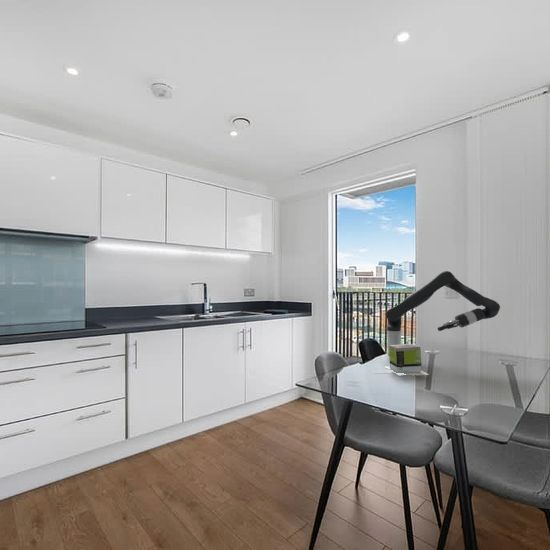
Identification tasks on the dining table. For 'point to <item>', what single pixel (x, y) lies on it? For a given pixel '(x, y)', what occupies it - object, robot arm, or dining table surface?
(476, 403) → the dining table surface
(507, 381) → the dining table surface
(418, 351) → the tea box
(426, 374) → the T mat
